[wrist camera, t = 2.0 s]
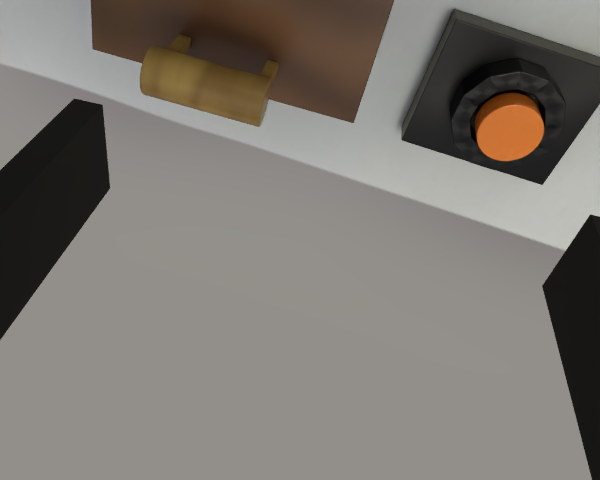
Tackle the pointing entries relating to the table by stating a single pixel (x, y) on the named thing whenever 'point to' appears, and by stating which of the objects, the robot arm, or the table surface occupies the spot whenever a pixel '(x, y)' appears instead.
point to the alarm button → (508, 127)
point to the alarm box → (501, 92)
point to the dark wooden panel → (247, 51)
